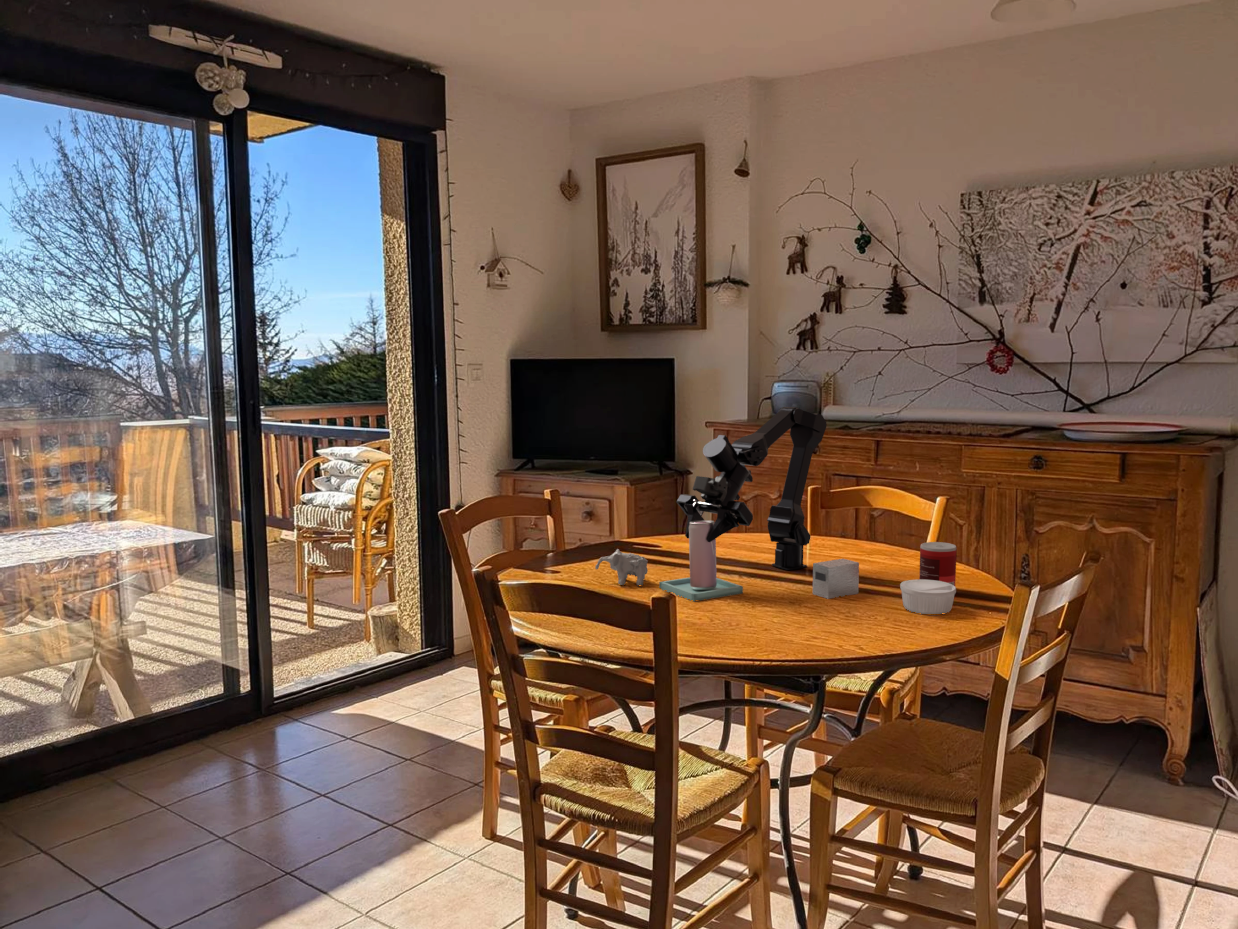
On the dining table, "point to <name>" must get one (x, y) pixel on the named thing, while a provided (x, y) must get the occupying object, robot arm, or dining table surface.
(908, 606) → the ramekin
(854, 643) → the dining table surface
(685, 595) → the tray
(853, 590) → the block
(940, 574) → the canned food
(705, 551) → the beverage can
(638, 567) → the gray elephant figurine
